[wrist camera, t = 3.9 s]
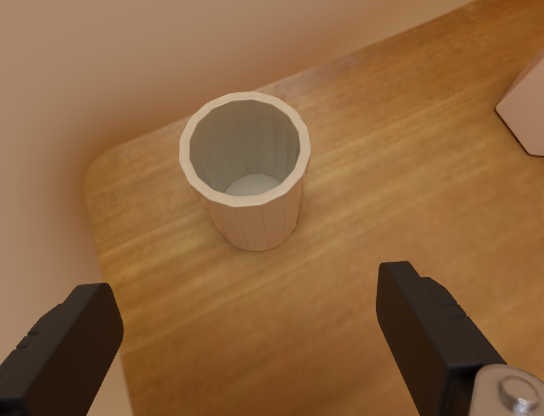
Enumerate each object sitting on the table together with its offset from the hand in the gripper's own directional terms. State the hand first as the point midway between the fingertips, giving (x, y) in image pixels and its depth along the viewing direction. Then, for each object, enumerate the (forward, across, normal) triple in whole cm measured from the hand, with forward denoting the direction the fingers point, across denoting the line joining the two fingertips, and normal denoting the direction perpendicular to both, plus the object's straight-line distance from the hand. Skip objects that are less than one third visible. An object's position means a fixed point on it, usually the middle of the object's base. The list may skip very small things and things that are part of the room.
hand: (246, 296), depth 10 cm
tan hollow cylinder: (+14, 0, +4) cm, 14 cm away
